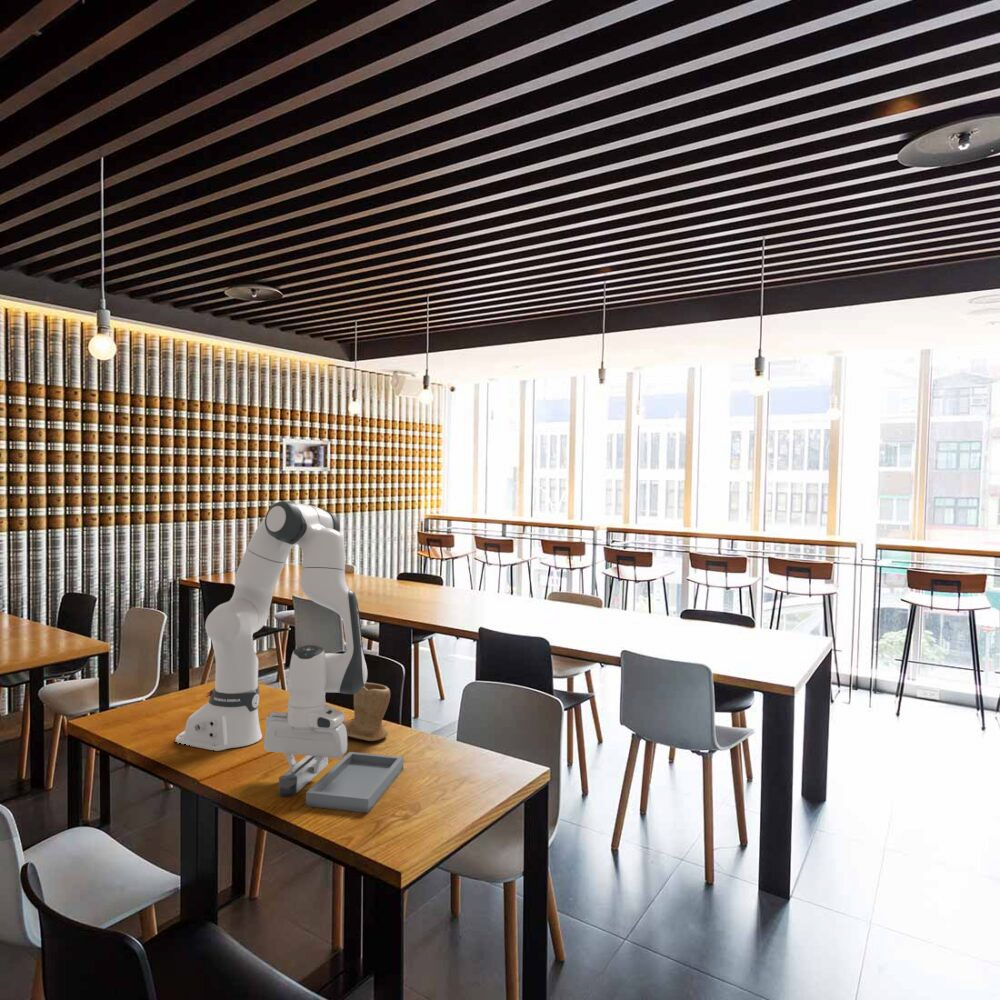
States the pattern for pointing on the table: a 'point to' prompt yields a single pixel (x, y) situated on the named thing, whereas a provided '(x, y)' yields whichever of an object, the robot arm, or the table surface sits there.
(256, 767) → the table surface
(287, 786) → the steel tongs
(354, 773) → the utensil tray
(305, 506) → the robot arm
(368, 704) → the stone cup
